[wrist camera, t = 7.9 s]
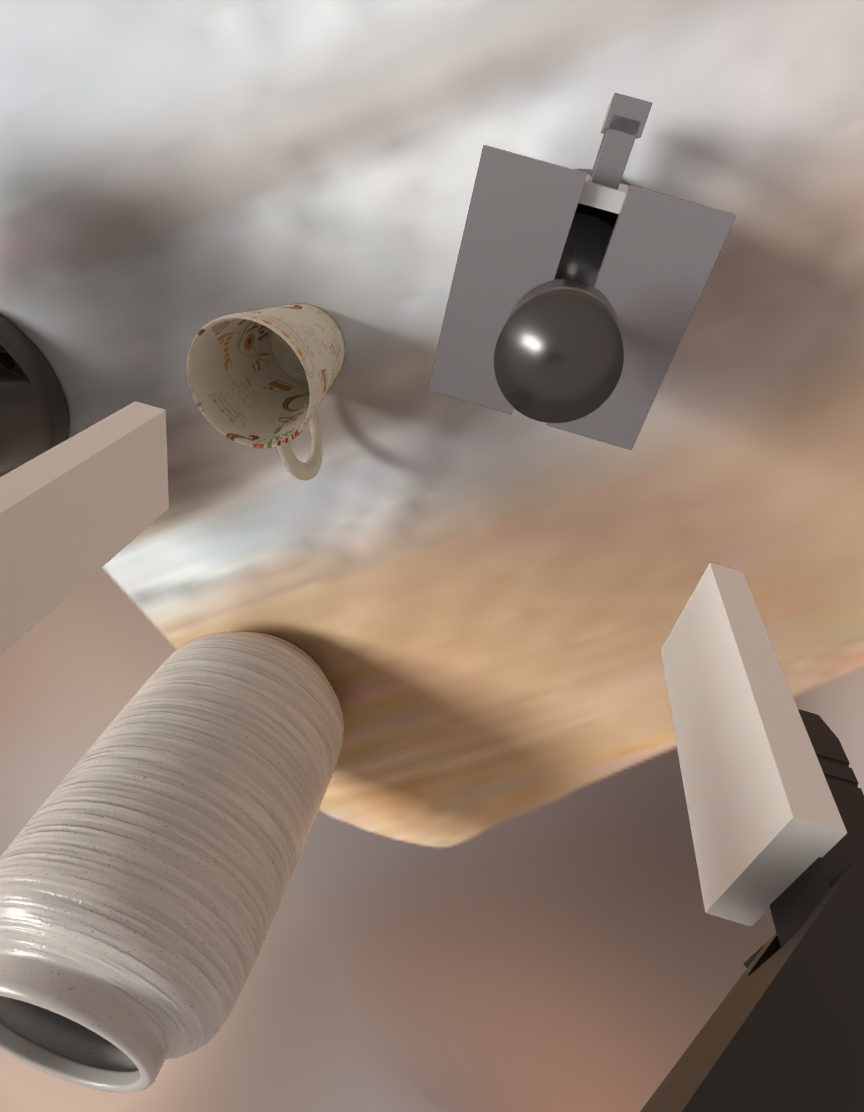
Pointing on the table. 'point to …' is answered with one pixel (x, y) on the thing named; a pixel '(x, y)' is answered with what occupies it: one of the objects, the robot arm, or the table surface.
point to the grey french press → (533, 257)
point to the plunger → (563, 336)
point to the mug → (267, 377)
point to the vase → (163, 862)
